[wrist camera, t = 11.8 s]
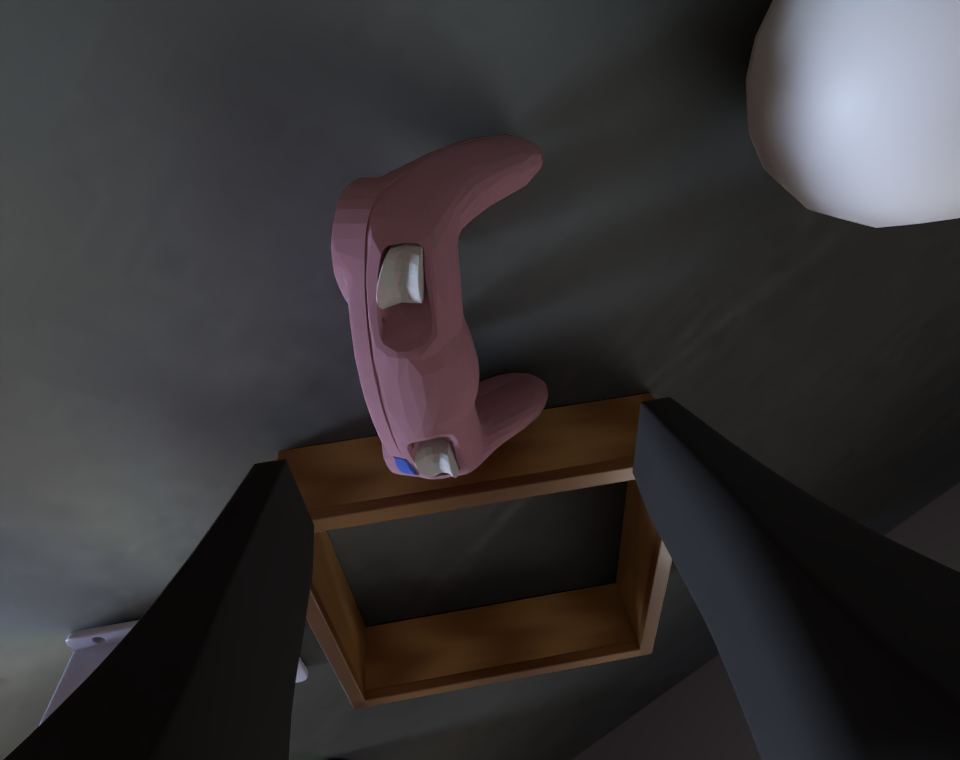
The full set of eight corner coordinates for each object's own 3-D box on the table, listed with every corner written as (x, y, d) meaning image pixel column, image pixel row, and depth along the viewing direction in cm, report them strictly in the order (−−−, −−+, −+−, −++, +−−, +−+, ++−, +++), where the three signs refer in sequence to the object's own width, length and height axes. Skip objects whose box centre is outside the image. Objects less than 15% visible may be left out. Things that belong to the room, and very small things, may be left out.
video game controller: (402, 123, 16) (257, 206, 11) (551, 119, 15) (464, 212, 10) (445, 381, 22) (364, 514, 17) (554, 396, 21) (502, 545, 16)
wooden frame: (357, 634, 30) (353, 709, 27) (276, 449, 21) (257, 529, 18) (625, 586, 31) (651, 654, 28) (652, 390, 22) (695, 456, 19)
